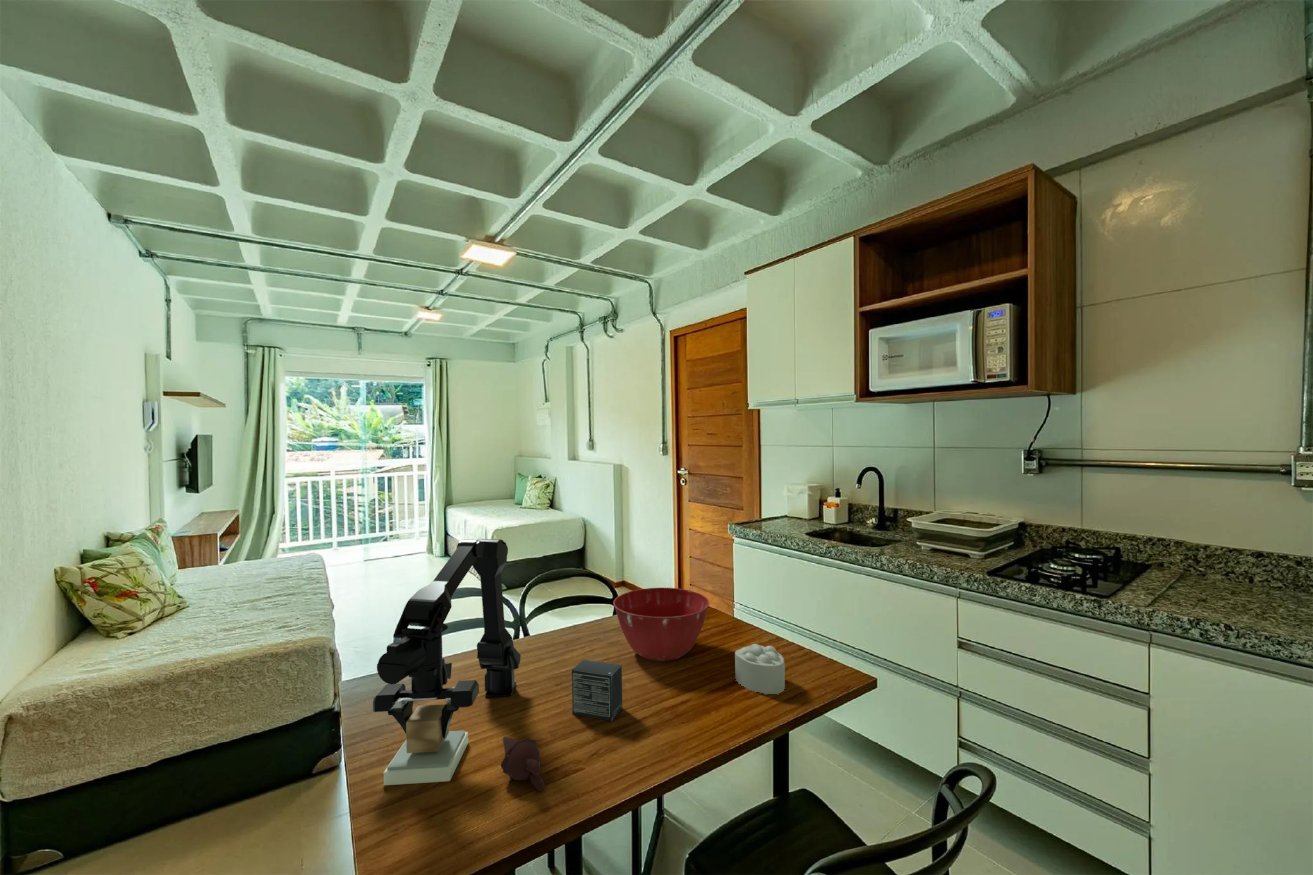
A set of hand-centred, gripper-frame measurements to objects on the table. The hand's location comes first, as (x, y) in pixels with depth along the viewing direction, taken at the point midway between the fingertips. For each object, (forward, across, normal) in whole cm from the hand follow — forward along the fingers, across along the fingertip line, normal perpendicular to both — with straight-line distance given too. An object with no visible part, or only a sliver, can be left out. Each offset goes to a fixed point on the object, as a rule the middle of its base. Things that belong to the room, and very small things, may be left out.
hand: (428, 737), depth 102 cm
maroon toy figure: (+5, -19, +6) cm, 21 cm away
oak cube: (+1, 0, 0) cm, 1 cm away
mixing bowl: (+5, -51, -47) cm, 69 cm away
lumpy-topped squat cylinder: (+5, -75, -25) cm, 79 cm away
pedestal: (+5, 0, 0) cm, 5 cm away
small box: (+5, -33, -16) cm, 37 cm away
